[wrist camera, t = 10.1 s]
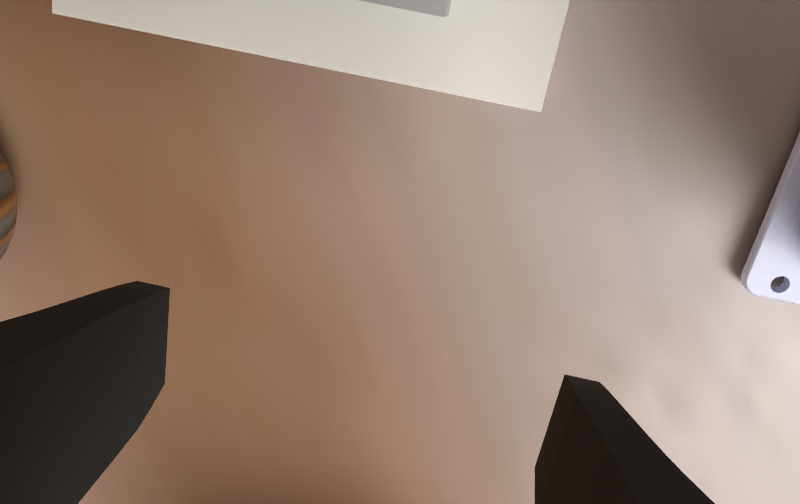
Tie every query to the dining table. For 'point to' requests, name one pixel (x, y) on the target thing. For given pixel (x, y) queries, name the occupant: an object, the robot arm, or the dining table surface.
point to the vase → (6, 206)
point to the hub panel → (370, 37)
